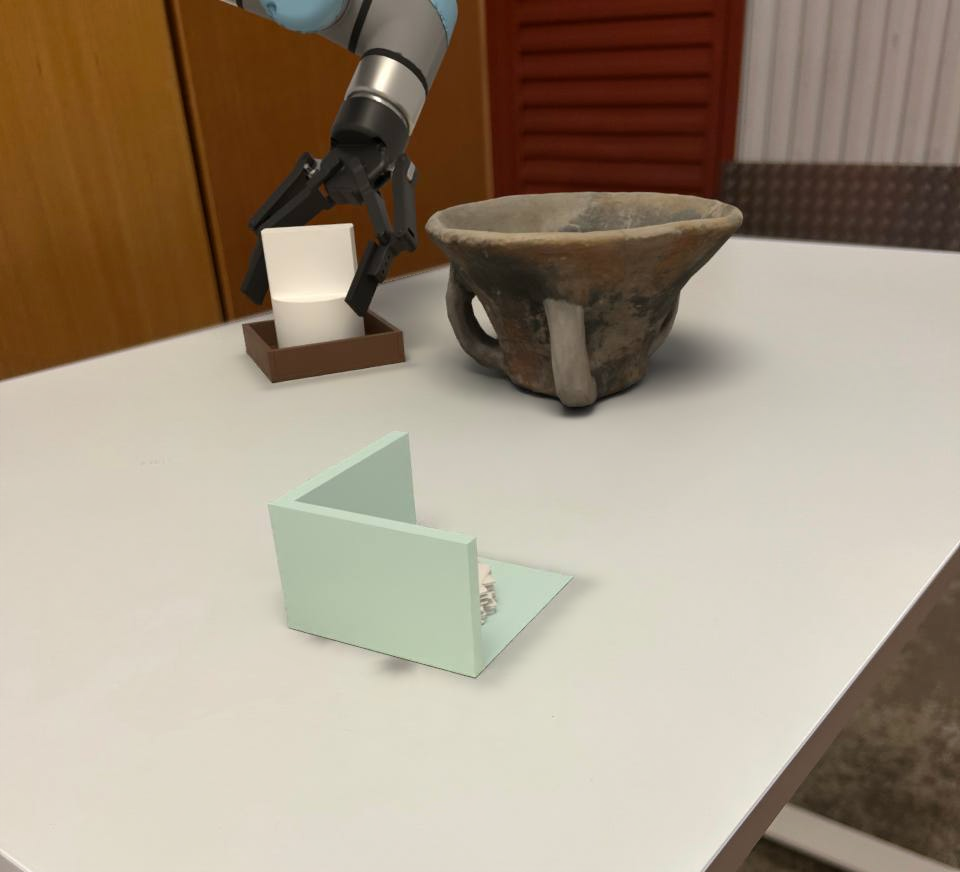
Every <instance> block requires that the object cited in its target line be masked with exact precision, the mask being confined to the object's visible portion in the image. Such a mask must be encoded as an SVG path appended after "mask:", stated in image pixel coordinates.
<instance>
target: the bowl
mask: <svg viewBox="0 0 960 872" xmlns="http://www.w3.org/2000/svg"><path fill="white" fill-rule="evenodd" d="M743 215H744V214H743V212H742V211H741V209H739V208H738V207H737V206H734V205H732V204H729V203H726V202H722V201H720V200H718V199H710V198H704V197H701V196H697V195H688V194H687V195H685V194H679V193H663V192H654V191H653V192H652V191H649V192H648V191H647V192H646V191H632V192H631V191H630V192H627V191H618V192H616V191H615V192H611V191H601V192H600V191H599V192H598V191H579V192H578V191H574V192H549V193H547V192H546V193H529V194H514V195H513V194H512V195H506V196H500V197H496V198H490V199H485V200H479V201H475V202H468V203H462V204H458V205H454V206H451V207H450V206H449V207H447V208H445V209H442V210H438V211H436V212H435V213H433V214H432V215H431V216H430V217H429V218H428V220H427V222H426V224H425V225H424V230H425V233H426V235H427V236H428V237H429V238H430V240H431V241H432V242H433V244H435V246H436V247H437V248H438V249H439V250H440V251H441V252H442V254H443V255H445V257H446V258H447V259H448V260H449V261H450V262H449V274H448V281H447V287H446V293H445V305H446V314H447V319H448V321H449V323H450V326H451V328H452V331H453V333H454V336H455V338H456V340H457V342H458V343H459V345H460V347H461V348H462V350H463V351H464V353H465V354H466V355H468V356H469V357H470V358H472V359H473V360H474V361H475V362H477V363H478V364H479V365H480V366H482V367H485V368H488V369H491V370H493V371H497V372H499V373H502V374H503V373H504V374H506V375H507V377H508V378H509V379H510V381H511V382H512V383H513V384H515V385H517V386H519V387H520V388H523V389H524V390H527V391H531V392H533V393H536V394H541V395H545V396H550V397H554V398H558V399H559V401H560V402H561V403H562V405H564V406H567V407H569V408H570V407H572V408H573V407H577V408H578V407H587V406H591V405H592V404H594V403H595V402H596V400H599V399H601V398H604V397H607V396H610V395H612V394H615V393H618V392H621V391H624V390H627V389H628V388H630V387H631V386H632V385H633V384H636V383H638V382H639V381H640V380H641V379H642V378H643V377H644V376H645V375H647V373H648V371H649V367H648V359H650V358H651V357H652V356H653V355H654V353H656V351H657V350H658V349H659V348H660V347H661V346H662V345H663V344H664V342H665V341H666V340H667V338H668V337H669V334H670V333H671V331H672V329H673V326H674V323H675V320H676V317H677V314H678V311H679V305H680V298H681V293H682V292H681V291H682V290H683V289H684V287H685V286H686V285H687V284H688V282H689V281H690V280H691V279H692V278H693V276H695V274H697V273H698V272H699V271H700V270H701V269H703V268H704V267H705V266H706V264H708V263H709V262H710V261H711V260H712V259H713V257H714V256H715V255H716V254H717V253H718V252H719V251H720V250H721V248H722V247H723V246H724V245H725V244H726V243H727V242H728V241H729V240H730V239H731V237H732V236H733V235H734V234H735V233H736V232H737V230H739V228H740V227H741V226H742V225H743V221H744V217H743ZM475 297H477V299H478V301H479V303H480V304H481V306H482V307H483V310H484V311H485V312H484V313H485V314H486V316H487V318H488V320H489V323H490V324H491V326H492V329H493V330H494V332H495V335H496V337H497V338H495V337H493V336H491V335H489V334H488V333H486V330H484V329H483V327H482V325H481V324H480V322H479V321H478V319H477V317H476V315H475V312H474V311H475V310H474V306H473V303H472V302H473V299H474V298H475Z"/></svg>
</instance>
